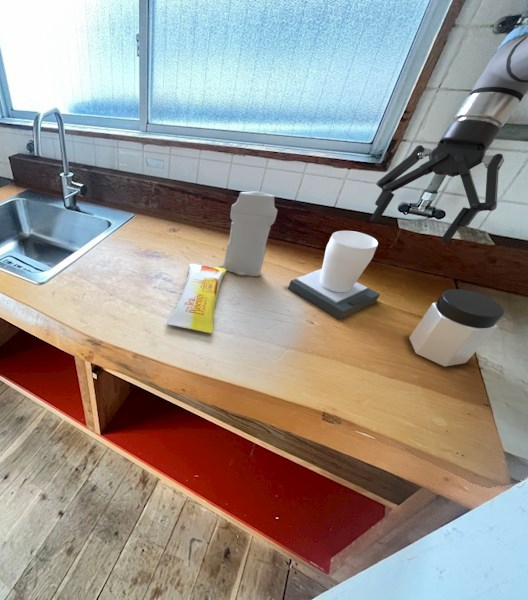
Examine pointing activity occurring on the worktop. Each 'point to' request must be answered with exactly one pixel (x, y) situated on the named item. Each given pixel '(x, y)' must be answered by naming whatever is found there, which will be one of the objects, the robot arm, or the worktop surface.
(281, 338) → the worktop surface
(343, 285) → the cup
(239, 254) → the tall pale column
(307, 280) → the scale
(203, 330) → the food package
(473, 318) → the jar
